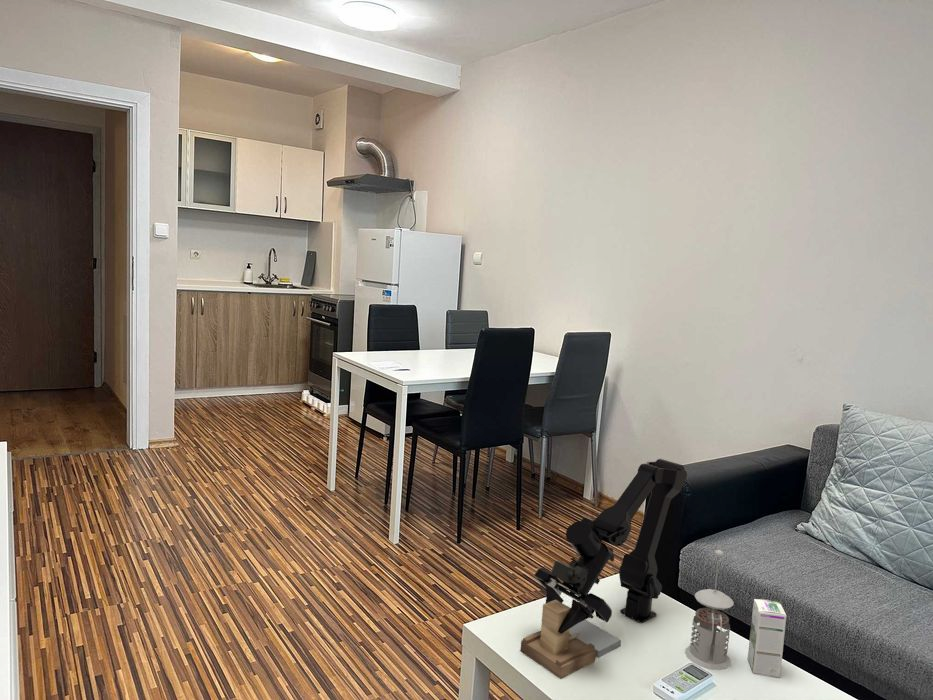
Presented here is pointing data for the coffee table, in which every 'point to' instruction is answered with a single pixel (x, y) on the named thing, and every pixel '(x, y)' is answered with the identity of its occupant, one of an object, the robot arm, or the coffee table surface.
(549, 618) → the oak mallet
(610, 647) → the grey rubber pad
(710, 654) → the french press
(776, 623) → the syrup box
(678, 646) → the coffee table surface
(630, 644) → the coffee table surface
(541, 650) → the walnut shelf lane
